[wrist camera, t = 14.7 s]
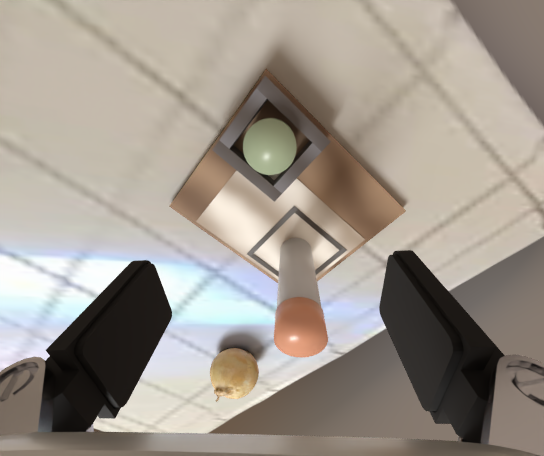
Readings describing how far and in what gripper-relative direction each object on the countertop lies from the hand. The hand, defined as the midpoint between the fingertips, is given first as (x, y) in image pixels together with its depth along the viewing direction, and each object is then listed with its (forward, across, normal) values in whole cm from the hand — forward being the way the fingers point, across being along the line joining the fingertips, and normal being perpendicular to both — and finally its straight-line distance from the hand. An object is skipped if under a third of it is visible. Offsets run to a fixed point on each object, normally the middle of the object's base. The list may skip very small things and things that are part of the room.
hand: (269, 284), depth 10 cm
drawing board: (+19, 0, +4) cm, 20 cm away
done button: (+17, +1, -3) cm, 17 cm away
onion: (+19, +10, +33) cm, 39 cm away
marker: (+18, -2, +10) cm, 21 cm away
